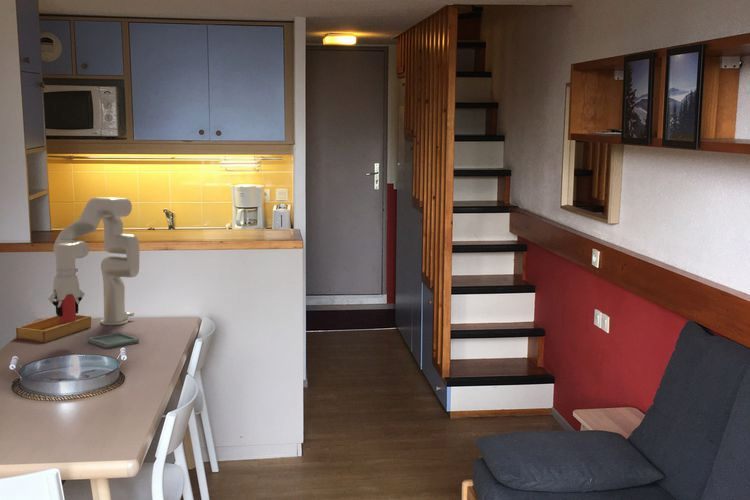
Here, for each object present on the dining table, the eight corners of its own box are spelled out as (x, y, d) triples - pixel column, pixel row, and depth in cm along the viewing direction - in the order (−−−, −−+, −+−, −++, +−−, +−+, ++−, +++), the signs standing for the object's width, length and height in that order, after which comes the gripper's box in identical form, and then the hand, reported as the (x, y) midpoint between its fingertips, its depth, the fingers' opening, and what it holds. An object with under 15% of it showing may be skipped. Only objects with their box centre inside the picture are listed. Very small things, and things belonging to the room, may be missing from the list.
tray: (45, 343, 349) (44, 330, 348) (16, 339, 354) (15, 326, 353) (91, 328, 378) (91, 316, 377) (64, 324, 383) (64, 313, 382)
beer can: (78, 319, 348) (77, 292, 346) (71, 323, 342) (70, 295, 340) (63, 319, 349) (62, 291, 347) (56, 322, 342) (55, 294, 340)
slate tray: (119, 336, 362) (119, 332, 362) (138, 342, 353) (138, 338, 353) (88, 342, 351) (88, 338, 351) (107, 348, 341) (107, 344, 341)
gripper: (80, 268, 351) (81, 309, 354) (41, 274, 338) (43, 316, 341) (89, 271, 346) (91, 312, 349) (50, 276, 333) (52, 319, 336)
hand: (67, 314), depth 345 cm, fingers closed on beer can, 6 cm apart
